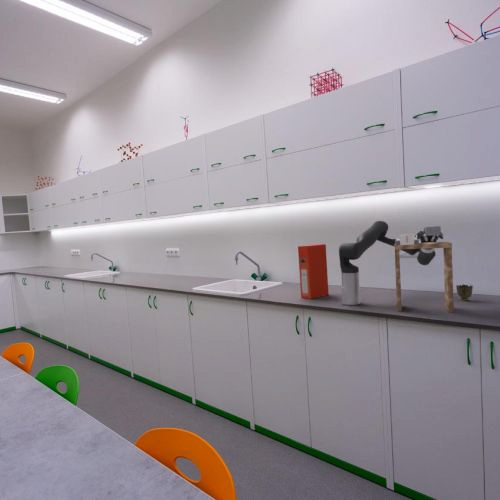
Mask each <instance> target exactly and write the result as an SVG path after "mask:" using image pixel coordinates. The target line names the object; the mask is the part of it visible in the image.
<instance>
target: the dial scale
mask: <svg viewBox="0 0 500 500" xmlns="http://www.w3.org/2000/svg"><path fill="white" fill-rule="evenodd" d="M395 239H396V240H395V244H396V245H415V244H419V243H420V239H417V238H415V234H414V233H404V234H399V238H395Z"/></svg>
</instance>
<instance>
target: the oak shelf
mask: <svg viewBox="0 0 500 500" xmlns="http://www.w3.org/2000/svg"><path fill="white" fill-rule="evenodd" d="M394 246H395V247H394ZM394 246H393V247H394V265H395V269H394V270H395V271H394V272H395V294H396V311H397V312H402V310H403V309H402V306H403V305H402V287H401V281H402V280H401V260H400V259H401V258H400V250H401V249H424V248H435V249H442V250H443V251H442V252H443V253H442V255H443V275H444V276H443V277H444V280H443V281H444V283H443V284H444V306H445V309H446V310H447V312H448V313H450V314H451V313H454V312H455V311H454V309H455V308H454V307H455V306H454V305H455V304H454V303H455V301H454V281H453V280H454V279H453V278H454V277H453V276H454V275H453V272H454V271H453V243H452V242H449V241H436V242H428V243H421V242H419V244H415V245H396V244H394Z"/></svg>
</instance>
